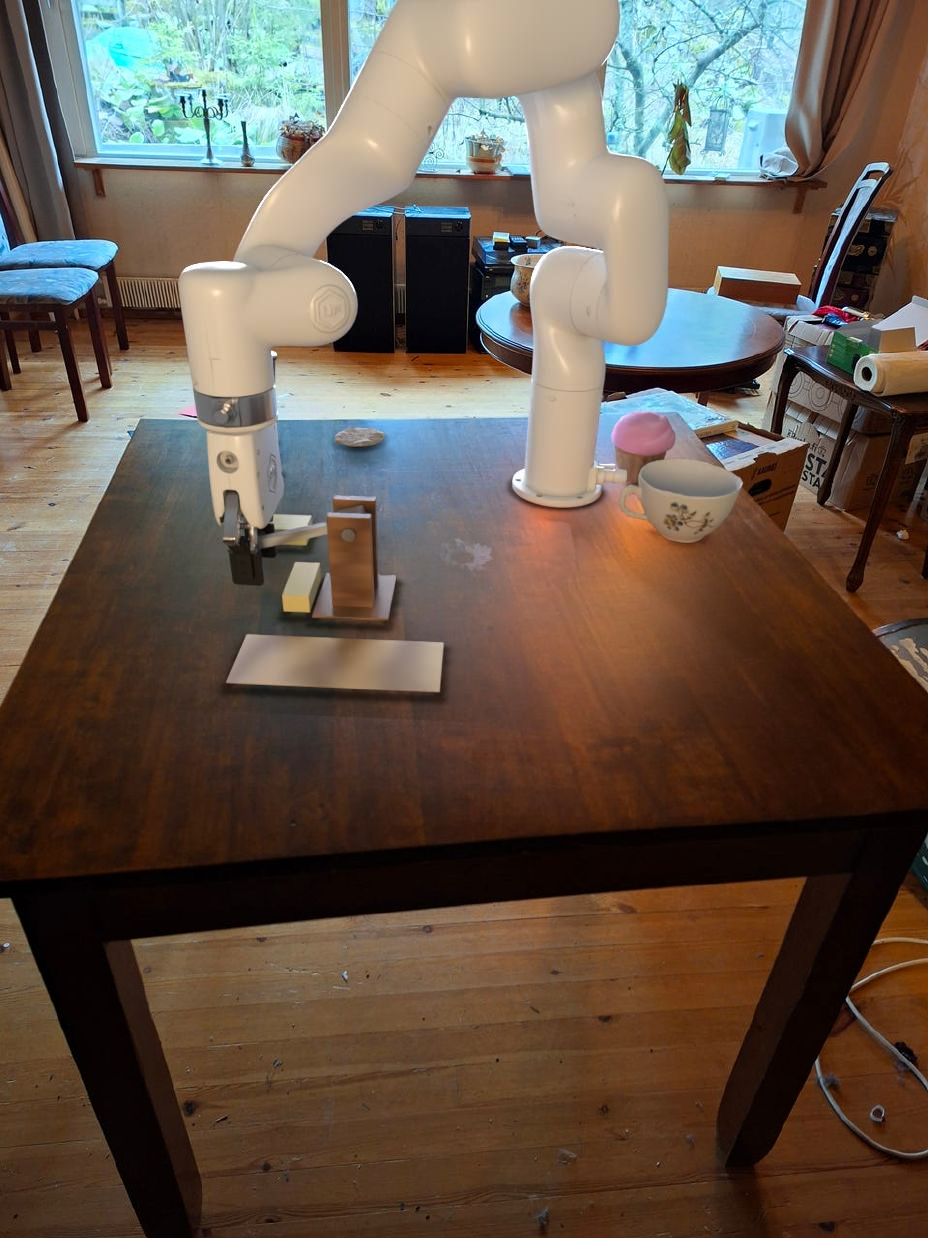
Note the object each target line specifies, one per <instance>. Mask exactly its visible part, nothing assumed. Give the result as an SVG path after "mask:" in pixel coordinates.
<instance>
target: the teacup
mask: <svg viewBox="0 0 928 1238" xmlns="http://www.w3.org/2000/svg"><path fill="white" fill-rule="evenodd" d="M743 484H744V482H743V480H742V478H741V477H740V476H737V475H736V474H735V473H733V472H732V471H730V470H728V469H726V468H725V467H724V468H723V467H722V466H721V467H720V466H718V465H713V464H711V463H709V462H705V461H701V460H697V459H692V458H677V457H673V458H672V457H671V458H664V460H656V461H653V462H650V463H647V464H646V465H645V466H644V467H642V468H641V470H640V473H639V478H638V483H637V485H638V486H637V485H635V484H629V485H626V486H625V487H624V488H623V489H622V490H621V492H620V493H619V499H618V506H619V509H620V511H621V512H622V513H623V514H624V515H625V516H626V517H628V518H632V519H638V520H644V521H646V522H648V523H649V524H650V525H651V526H652V527H653V528H654V529H655V530H656V531H657V532H658V534H659V535H660V536H661V537H663V538H664V539H666V540H668V541H672V542H675V543H683V544H691V543H695V542H699V541H700V540H702V539H704V537H705V536H707V535H709V534H710V533H712V532H713V531H715V530H716V529H717V528H719V526H720V525H722V523H724V521H725V520H726V519H727V518H728V516H729V515H730V513H731V512H732V510H733V508H734V507H735V504H736V502H737V500H738V497H739V494H740V491H741V489H742V487H743ZM632 494H634V495H635V496H636V497H637V500H639V502H640V505H641V508H642V510H643V513H638V512H636V511H633V510H631V509H629V508H628V507H627V506H626V505H625V502H626V499H627V497H628V496H630V495H632Z"/></svg>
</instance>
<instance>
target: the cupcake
mask: <svg viewBox="0 0 928 1238" xmlns="http://www.w3.org/2000/svg"><path fill="white" fill-rule="evenodd" d="M610 440H611V442H612V444H613V446H614V456H615V463H616V467H617V470H627V481H629V482H630V483H633V484H638V478H639V473H640V470H641V468H642V467H644V466H645V465H646V464H647V463H650V462H653V461H656V460H664V459H666V454H667V452H668V451H670V450H672V449H673V447H674V446H675V443H676V432H675V430H674V429H673V427H672V424H671V422H670V421H669V418H668V417H667V416H665V415H664V414H662V413H659V412H655V411H648V410H633V411H631V412H629V413H628V414H627V413H626V414H624V415H623V416H621V417H620V418H619V419H618V420H617V422H616V423H615V425H614V427H613V429H612V433H611V438H610Z"/></svg>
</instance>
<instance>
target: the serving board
mask: <svg viewBox="0 0 928 1238" xmlns="http://www.w3.org/2000/svg"><path fill="white" fill-rule="evenodd" d="M444 646H445V643H444V642H442V641H441V642H437V641H415V640H414V641H413V640H395V639H393V640H392V639H391V640H390V639H368V638H367V639H365V638H343V637H319V636H299V635H298V636H297V635H296V636H295V635H271V634H250V633H248V634H246V635H245V637H244V640H243V642H242V645H241V646H240V649H239V651H238V654H237V656H236V658H235V661H234V663H233V665H232V667H231V670H230V671H229V674H228V677H227V679H226V681H225V684H237V685H238V684H239V685H263V686H285V687H287V686H288V687H308V688H309V687H311V688H330V689H332V688H333V689H334V688H335V689H354V690H355V689H358V690H376V691H377V690H380V691H399V692H401V691H402V692H403V691H404V692H423V693H424V692H425V693H427V692H428V693H440V692H441V680H442V669H443V660H444V659H443V657H444Z"/></svg>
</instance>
